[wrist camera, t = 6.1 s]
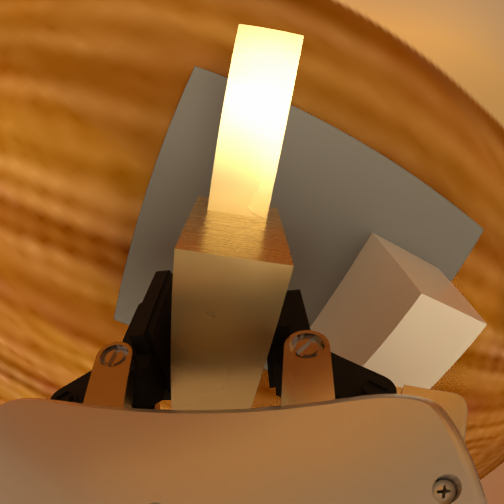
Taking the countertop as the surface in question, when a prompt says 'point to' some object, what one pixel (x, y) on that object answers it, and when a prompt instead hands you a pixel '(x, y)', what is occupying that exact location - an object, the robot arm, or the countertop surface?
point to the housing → (294, 202)
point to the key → (236, 236)
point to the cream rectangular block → (398, 316)
